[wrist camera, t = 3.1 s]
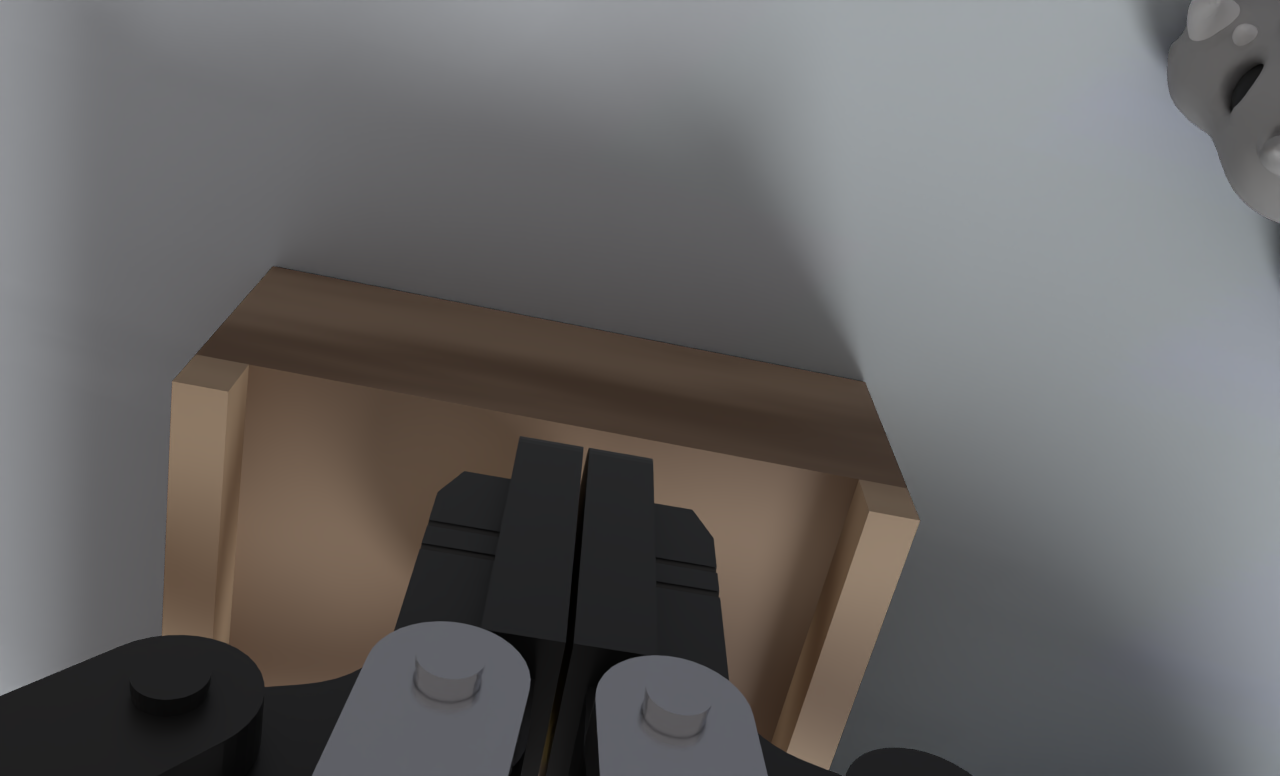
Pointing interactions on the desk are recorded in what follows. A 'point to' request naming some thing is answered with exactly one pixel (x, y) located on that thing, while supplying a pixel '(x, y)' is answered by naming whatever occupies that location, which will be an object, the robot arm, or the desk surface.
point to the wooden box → (487, 444)
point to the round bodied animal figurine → (1234, 91)
